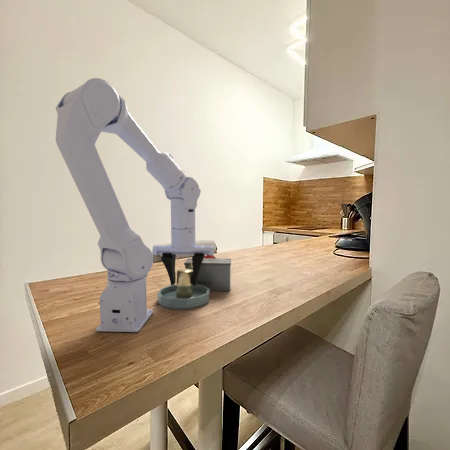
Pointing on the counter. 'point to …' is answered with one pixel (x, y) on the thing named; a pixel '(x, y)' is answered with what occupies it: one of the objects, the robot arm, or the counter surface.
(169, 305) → the plate
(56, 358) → the counter surface
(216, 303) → the counter surface
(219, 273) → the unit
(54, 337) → the counter surface
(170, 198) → the robot arm
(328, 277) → the counter surface
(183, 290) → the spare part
